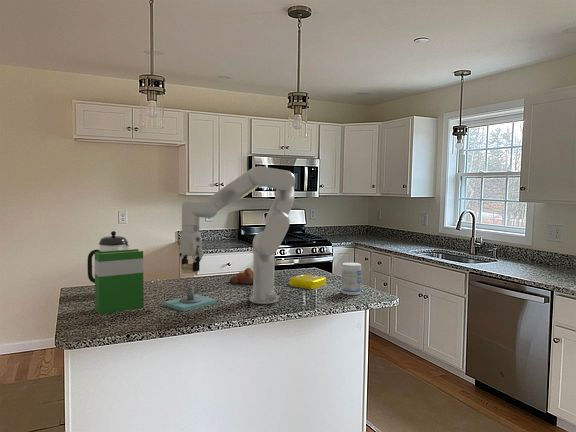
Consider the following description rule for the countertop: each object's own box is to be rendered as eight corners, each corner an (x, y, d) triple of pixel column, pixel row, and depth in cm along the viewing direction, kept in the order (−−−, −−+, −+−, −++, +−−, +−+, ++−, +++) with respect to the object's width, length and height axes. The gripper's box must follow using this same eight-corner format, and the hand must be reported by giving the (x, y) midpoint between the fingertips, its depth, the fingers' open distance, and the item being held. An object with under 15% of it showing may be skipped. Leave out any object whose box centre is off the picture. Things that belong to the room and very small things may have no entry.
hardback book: (138, 303, 194) (137, 249, 192) (143, 307, 188) (143, 251, 186) (95, 309, 184) (94, 252, 182) (99, 313, 178) (98, 254, 176)
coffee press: (124, 288, 221) (124, 228, 219) (134, 295, 208) (134, 231, 206) (87, 293, 211) (86, 230, 209) (95, 300, 198) (94, 233, 196)
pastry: (251, 278, 251) (251, 264, 251) (270, 282, 241) (270, 268, 240) (228, 282, 239) (228, 268, 238) (247, 287, 229) (247, 272, 228)
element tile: (304, 281, 246) (304, 272, 246) (327, 285, 238) (327, 276, 237) (288, 286, 234) (288, 277, 234) (311, 290, 225) (312, 281, 225)
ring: (201, 271, 193) (201, 265, 193) (188, 274, 188) (188, 267, 188) (191, 269, 198) (191, 263, 198) (178, 271, 192) (178, 265, 192)
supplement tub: (361, 296, 213) (362, 265, 212) (341, 295, 214) (342, 265, 213) (360, 291, 223) (360, 262, 222) (341, 290, 224) (341, 261, 223)
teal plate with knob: (216, 303, 197) (216, 285, 196) (183, 311, 183) (183, 292, 182) (196, 297, 205) (196, 280, 205) (163, 305, 191) (163, 287, 191)
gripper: (210, 230, 189) (210, 271, 190) (185, 227, 200) (184, 266, 201) (196, 231, 183) (196, 273, 185) (171, 228, 194) (171, 268, 196)
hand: (190, 269), depth 193 cm, fingers closed on ring, 7 cm apart
